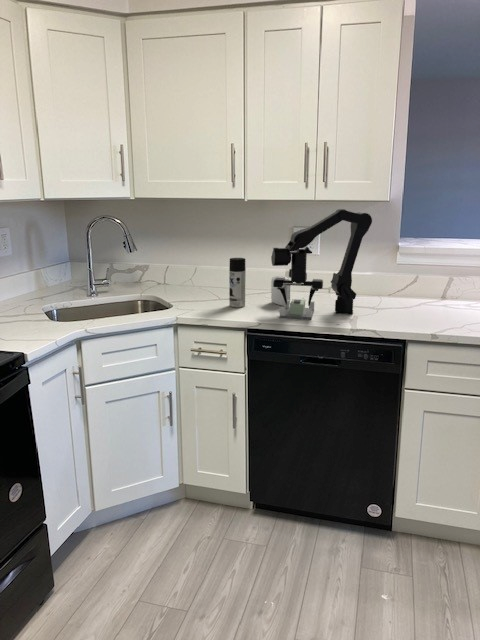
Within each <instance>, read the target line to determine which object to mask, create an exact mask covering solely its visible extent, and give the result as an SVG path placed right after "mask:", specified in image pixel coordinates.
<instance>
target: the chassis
mask: <svg viewBox="0 0 480 640" xmlns="http://www.w3.org/2000/svg"><path fill="white" fill-rule="evenodd" d="M290 303H291V299H290V300H287V305H286V303H285V301H284V306H280V307H279V316H278V317H279V319H287V320H289V319H291V320H308V321H310V320H312V318H313V315H314V313H315V300H311V302H310V305H309V306H308V307H305V311H304V313H303V315H297V314H290Z"/></svg>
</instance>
